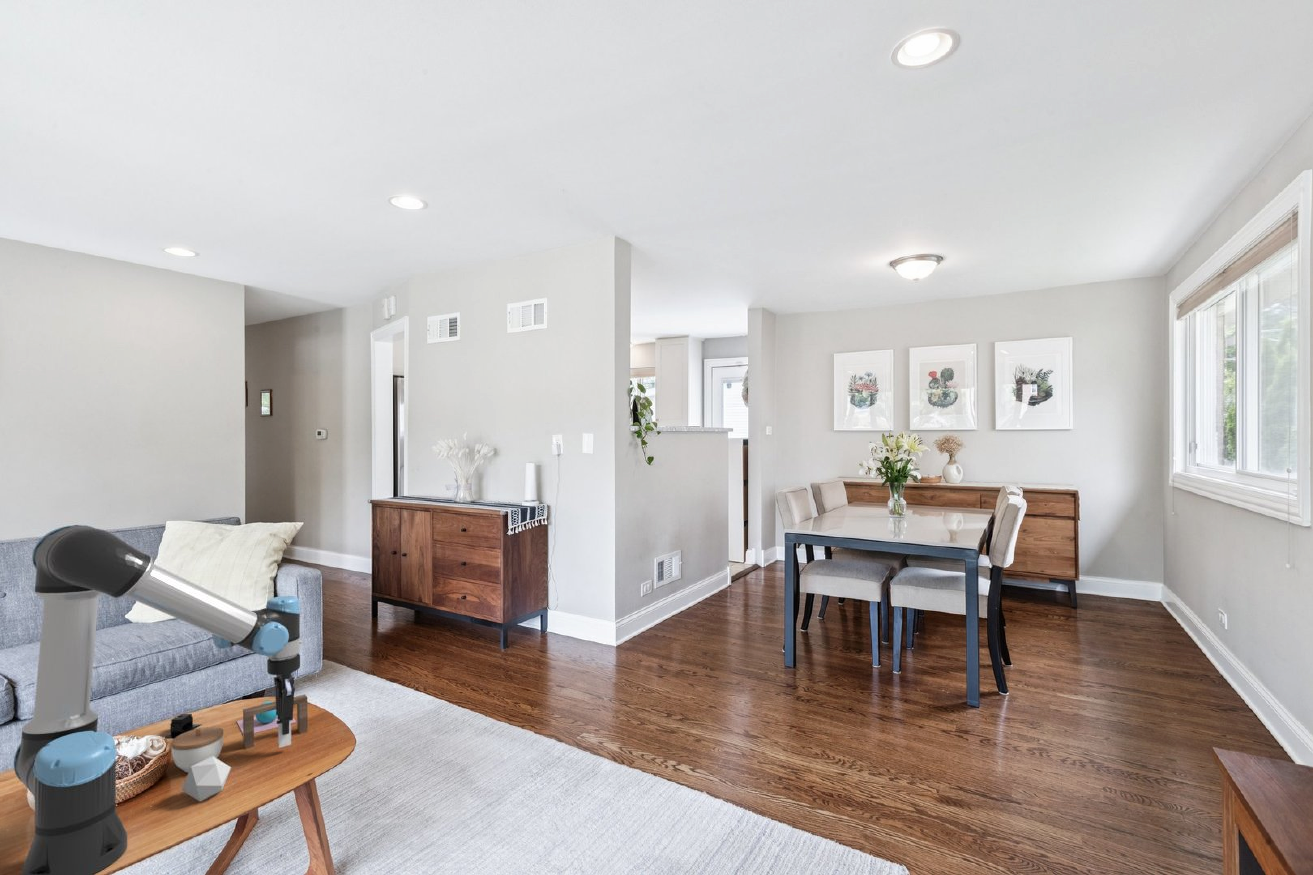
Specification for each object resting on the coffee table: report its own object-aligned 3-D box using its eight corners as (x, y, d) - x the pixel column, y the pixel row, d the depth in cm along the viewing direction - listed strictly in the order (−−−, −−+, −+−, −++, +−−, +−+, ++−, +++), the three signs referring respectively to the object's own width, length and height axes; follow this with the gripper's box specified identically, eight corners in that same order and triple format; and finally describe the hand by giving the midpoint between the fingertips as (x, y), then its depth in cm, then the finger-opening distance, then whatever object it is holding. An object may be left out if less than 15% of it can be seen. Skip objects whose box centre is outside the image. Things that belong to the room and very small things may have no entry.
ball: (253, 701, 185) (255, 720, 186) (256, 710, 181) (257, 729, 181) (277, 694, 189) (278, 713, 190) (280, 703, 184) (281, 722, 185)
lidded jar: (172, 782, 152) (172, 743, 153) (170, 765, 161) (170, 728, 161) (225, 767, 159) (225, 730, 159) (221, 751, 168) (221, 716, 168)
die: (230, 799, 146) (241, 754, 151) (193, 796, 139) (206, 749, 145) (207, 806, 148) (218, 761, 154) (169, 804, 142) (182, 757, 147)
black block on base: (186, 723, 187) (186, 707, 187) (212, 723, 187) (212, 706, 187) (150, 744, 174) (149, 726, 174) (177, 744, 174) (177, 726, 174)
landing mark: (244, 736, 176) (244, 735, 176) (236, 721, 186) (236, 720, 186) (296, 722, 185) (296, 721, 185) (286, 708, 195) (286, 708, 195)
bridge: (307, 731, 179) (307, 697, 179) (245, 748, 169) (244, 712, 169) (305, 727, 181) (304, 694, 181) (243, 744, 171) (243, 709, 171)
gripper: (305, 658, 164) (306, 748, 164) (294, 646, 174) (295, 732, 174) (272, 665, 160) (273, 758, 159) (262, 653, 169) (263, 741, 169)
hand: (284, 744), depth 167 cm, fingers closed
